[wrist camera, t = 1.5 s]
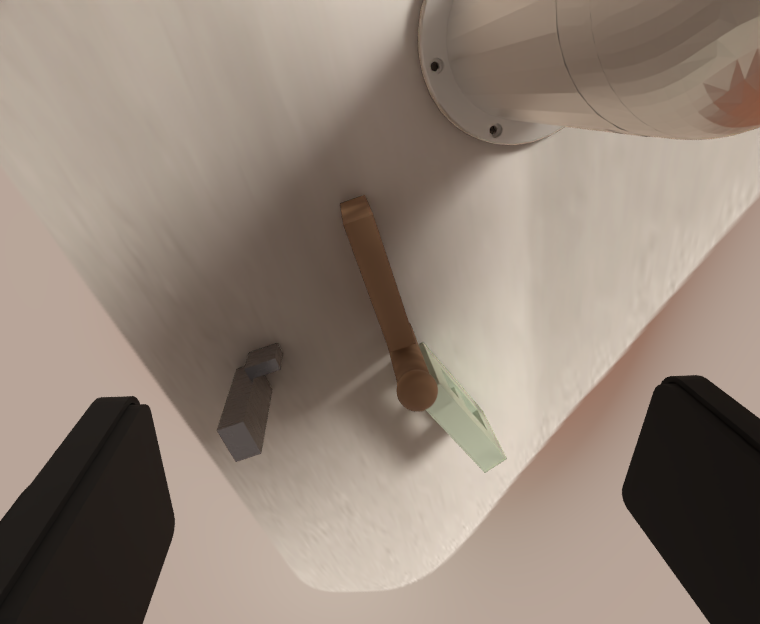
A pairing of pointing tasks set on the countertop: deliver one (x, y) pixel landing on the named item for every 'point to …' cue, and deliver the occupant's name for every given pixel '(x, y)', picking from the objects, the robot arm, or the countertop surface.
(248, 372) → the latch post
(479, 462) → the pale green flat block
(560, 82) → the robot arm
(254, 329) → the countertop surface
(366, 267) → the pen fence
